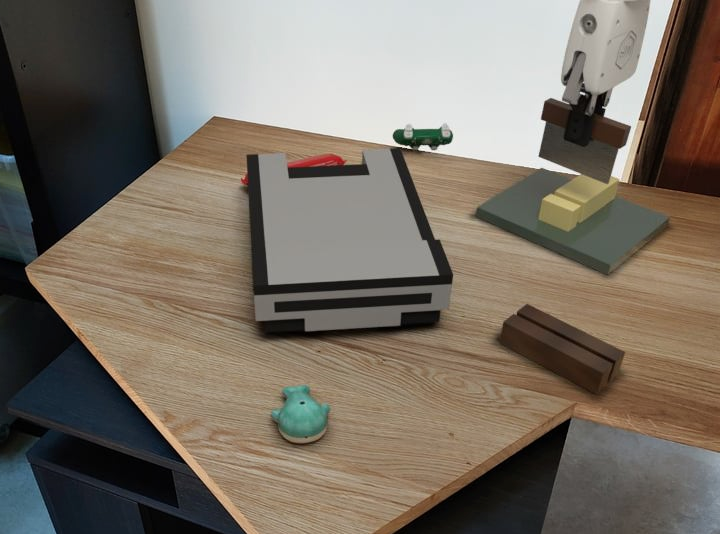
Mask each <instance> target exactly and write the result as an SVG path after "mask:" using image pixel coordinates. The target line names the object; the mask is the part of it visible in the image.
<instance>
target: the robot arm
mask: <svg viewBox="0 0 720 534" xmlns="http://www.w3.org/2000/svg"><path fill="white" fill-rule="evenodd" d="M650 8H651V0H579V2H578V5H577V8H576V12H575V14H574V19H573V22H572V25H571V28H570V32H569V35H568V40H567V44H566V48H565V52H564V56H563V60H562V61H563V62H562V65H561V66H562V67H561V74H560V82H561V84H562V86H564V87H565V88H564V91H563V94H562V97H561V100H562V101H561V102H564V103H567V104H569V106H568V109H569V114H568V119H567V123H566V128H565V132H564V137H563V138H564V140H565V141H568V142H571V143H574V144H576V145H579V146H582V147H586V146H587V145H588V144H589V141H590V137H591V133H592V129H593V125H594V121H595V117H596V114H598V115H601V116H604V117H605V114H606V108H607V107H608V105H609V103H610V101H611V97H612V93H613V90H614V88H615V87H617V86H618V85H620V84H622V83H623V82H625V81H627V80H630V79H631V77H633V76H634V74H635V73H636V71H637V69H638V64H639V60H640V56H641V51H642V47H643V42H644V38H645V34H646V29H647V24H648V20H649V14H650ZM582 93H583V94H582ZM593 113H595V114H593Z"/></svg>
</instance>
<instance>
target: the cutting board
mask: <svg viewBox="0 0 720 534" xmlns="http://www.w3.org/2000/svg"><path fill="white" fill-rule="evenodd" d="M573 179H574V178H570V177H568V176H565V175H562V174H560V173H557V172H554V171H552V170H549V169H546V168H544V167H540V168H538V169H536V171H533V172H532V173H530V174H529V175H527V176H526V177H523V178H522V179H520V180H519V181H517V182H516V183H514V184H512V185H511V186H509V187H507V188H506V189H504V190H502V191H500V192H499V193H498V194H496V195H494V196H492V197H491V198H489V199H488V200H486V201H484V202H483V203H481V204H479V205H477V206H476V210H475V217H476V218H478V219H480V220H482V221H485V222H486V223H488V224H491V225H493V226H496V227H497V228H500V229H502V230H505V231H507V232H510V233H512V234H514V235H516V236H518V237H521V238H523V239H525V240H528V241H530V242H532V243H534V244H536V245H539V246H541V247H543V248H545V249H548V250H550V251H553V252H555V253H557V254H559V255H561V256H564V257H566V258H568V259H570V260H572V261H575V262H578V263H579V264H582V265H584V266H587V267H589V268H591V269H593V270H595V271H598V272H600V273H602V274H604V275H607V276H608V275H609V274H611V273H612V272H614V271H615V270H616V269H617V268H618V267H620V266H621V265H622V264H624V262H625V261H627V260H628V259H629V258H631V257H632V256H633V255H634V254H636V253H637V252H638V251H639V250H640V249H642V248H643V247H644V246H645V245H647V244H648V243H649V242H650V241H651V240H652V239H654V238H655V237H656V236H657V235H659V234H660V233H661V232H662V231H664V230H665V229H666V228H668V225H669V222H670V220H671V216H669V215H667V214H664V213H662V212H659V211H657V210H654V209H651V208H649V207H645V206H643V205H640V204H638V203H635V202H632V201H631V200H627V199H626V198H623V197H620V196H617V195H615V197H614V199H613V200H612V201H610V202H609V203H608V204H606V205H605V206H603V207H602V208H601V209H599V210H598V211H596V212H595V213H594V214H592V215H591V216H589V217H588V218H587V219H585V220H584V221H582V222H581V223H578V222H577V224H576V227H574V228H573V229H571V230H570V231H569V232H567V231H565V230H562V229H560V228H557V227H555V226H553V225H550V224H548V223H546V222H543V221H541V220H539V219H538V218H539V213H540V209H541V204H542V199H543V198H545V197H547V196H548V195H550V194H553V195H554V193H555V191H556V190H557V189H559V188H560V187H562V186H564V185H565V184H567V183H568V182H570V181H571V180H573Z"/></svg>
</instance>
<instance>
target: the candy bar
mask: <svg viewBox="0 0 720 534" xmlns="http://www.w3.org/2000/svg"><path fill="white" fill-rule="evenodd" d="M347 161H348V159H345V160H343V158H342V157H341V156H340V155H336V154H335V153H325V154H319V155H314V156H310V157H306V158H301V159H297V160H293V161H288V162H287V167H309V166H333V165H345V164H346V163H347ZM240 181H241V183H242V185H246V186H248V175H247V173H245V175H244V178H243V177H240Z"/></svg>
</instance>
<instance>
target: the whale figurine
mask: <svg viewBox="0 0 720 534" xmlns="http://www.w3.org/2000/svg"><path fill="white" fill-rule="evenodd" d="M310 390H311V389H310V386H309V385H306V384H303V385H297V386H286V387H283V388H282V390H281V394H282V395H283V397H284V398H285V399H286V400H285V402H284V404H283V406H282V407H281V408H280V409H279V408H278V409H273V410H272V411H271V413H270V418H271V419H272V420H273V421H274V422H276V423H277V426H278V430H279V433H280V434H281V436H282V437H283V438H284V439H285V440H287V441H289V442H291V443H294V444H295V443H296V444H307V443H313V442H316V441H317V440H319V439H321V438H322V437H323V436H324V435H325V433H326V431H327V428H328V415H329V414H330V412H331V407H330V406H329V405H328V404H327V403H321V404H320V403H319V402H318V401H316V400H315V398H313V397H312V396H311V395H309V394H310Z"/></svg>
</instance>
